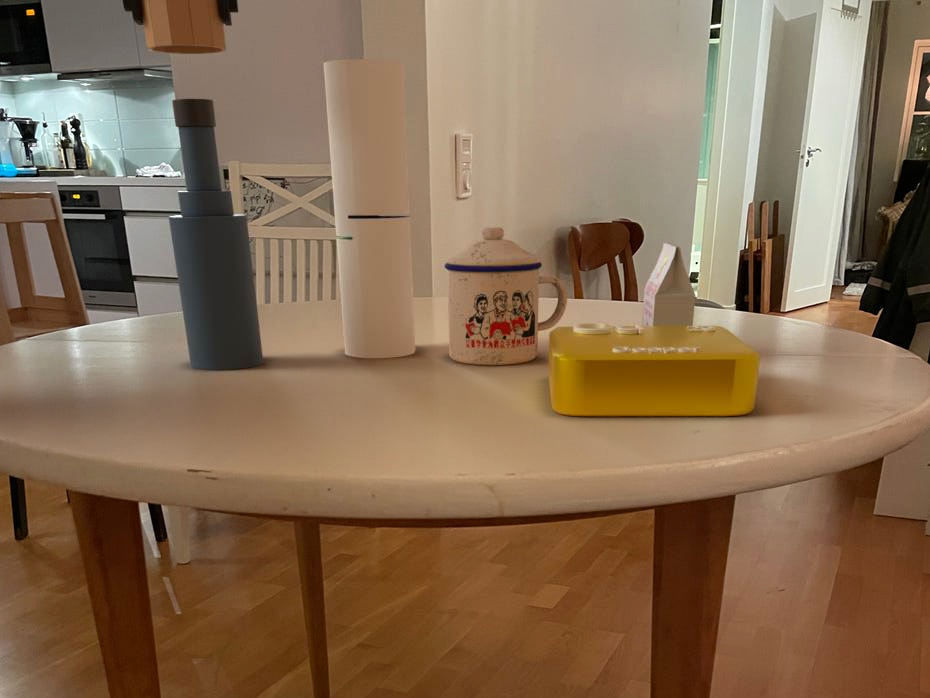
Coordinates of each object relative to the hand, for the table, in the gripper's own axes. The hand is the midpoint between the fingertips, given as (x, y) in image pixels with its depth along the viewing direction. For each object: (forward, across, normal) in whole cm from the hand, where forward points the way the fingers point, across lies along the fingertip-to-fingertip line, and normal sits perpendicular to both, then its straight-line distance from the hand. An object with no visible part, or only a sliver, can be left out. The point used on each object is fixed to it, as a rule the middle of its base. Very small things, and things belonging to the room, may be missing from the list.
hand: (183, 20), depth 76 cm
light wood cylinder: (+2, 0, 0) cm, 2 cm away
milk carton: (+28, -42, +6) cm, 51 cm away
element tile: (+28, -34, +23) cm, 50 cm away
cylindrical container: (+28, -15, -3) cm, 32 cm away
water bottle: (+28, 0, 0) cm, 28 cm away
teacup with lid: (+28, -27, +3) cm, 39 cm away
